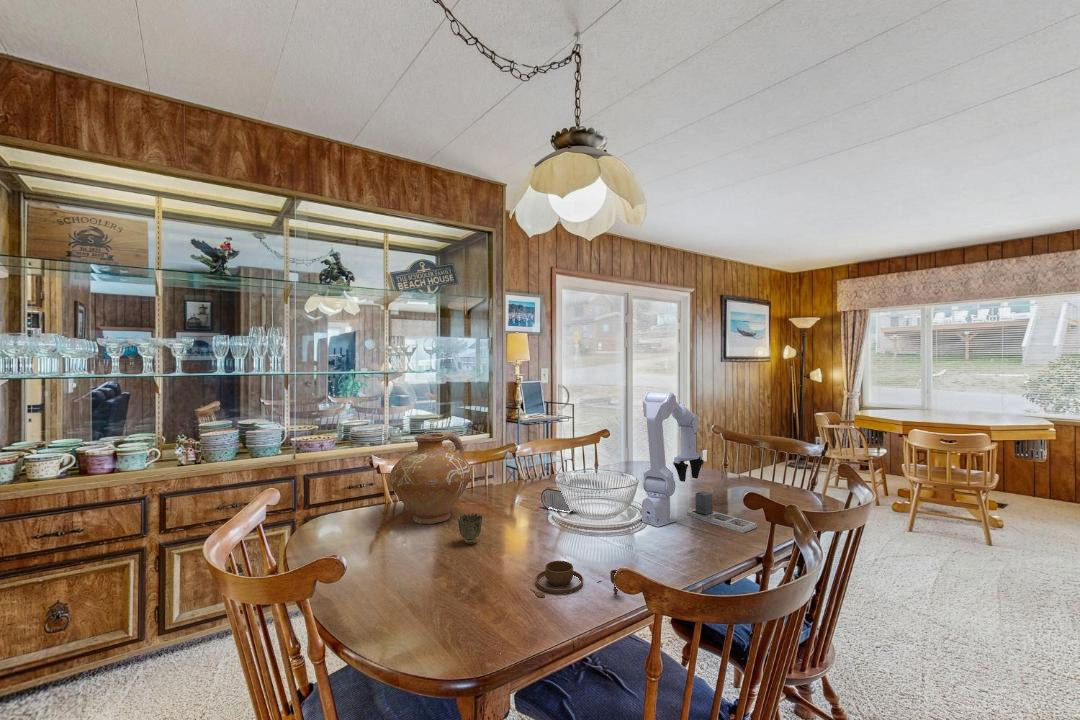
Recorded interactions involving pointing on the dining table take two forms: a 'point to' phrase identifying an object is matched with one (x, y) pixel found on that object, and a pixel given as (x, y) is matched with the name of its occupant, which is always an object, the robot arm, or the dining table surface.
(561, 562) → the place setting
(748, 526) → the grey compartment tray
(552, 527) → the dining table surface
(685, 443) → the robot arm
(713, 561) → the dining table surface
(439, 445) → the jug
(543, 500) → the tin
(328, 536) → the dining table surface
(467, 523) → the cup
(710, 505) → the block
